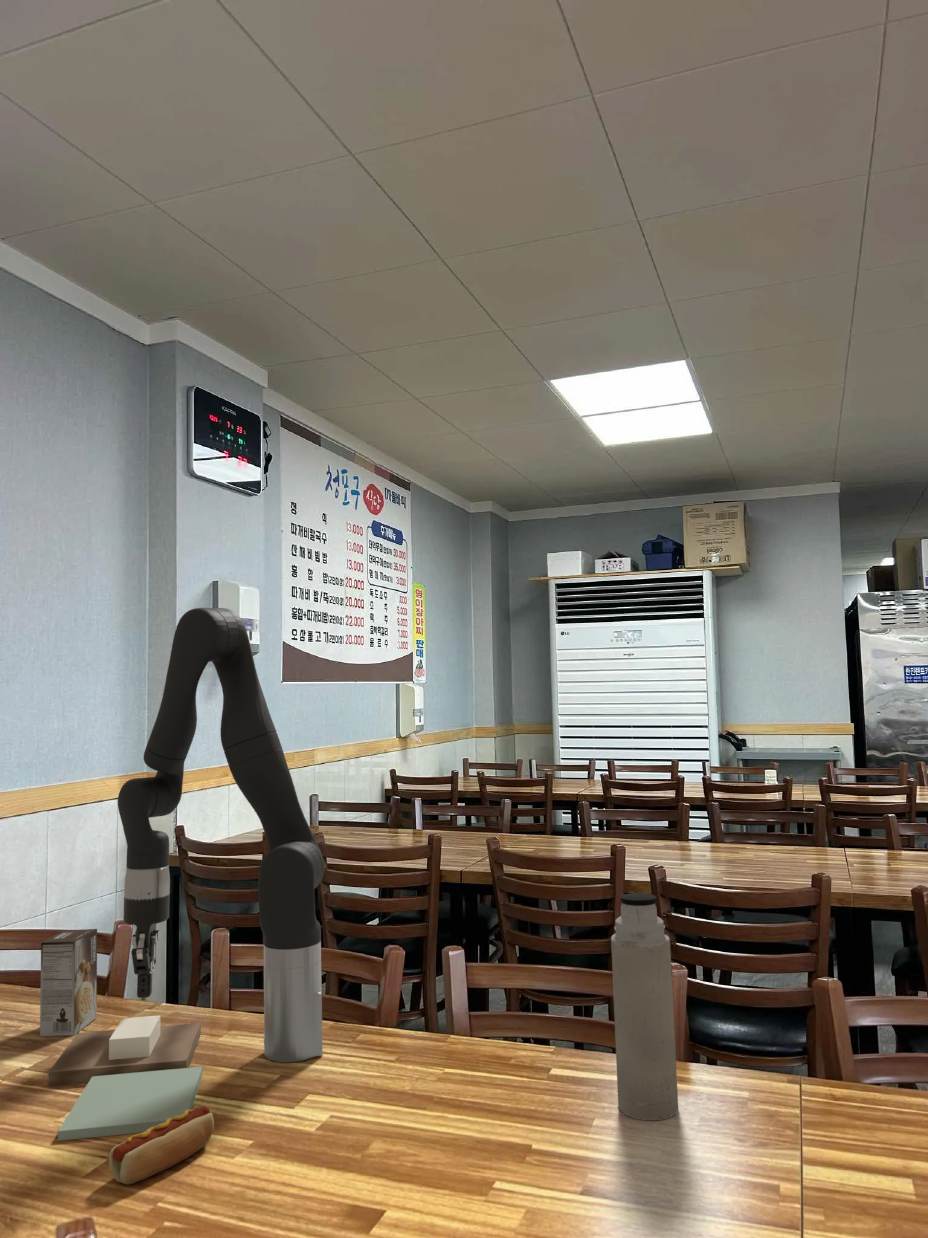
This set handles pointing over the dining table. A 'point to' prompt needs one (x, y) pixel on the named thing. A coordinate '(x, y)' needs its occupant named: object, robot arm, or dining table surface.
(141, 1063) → the plate
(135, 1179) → the food
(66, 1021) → the coffee box
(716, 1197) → the dining table surface
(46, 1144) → the dining table surface
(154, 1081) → the mat
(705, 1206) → the dining table surface
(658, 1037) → the thermos bottle
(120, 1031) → the white rectangular block
